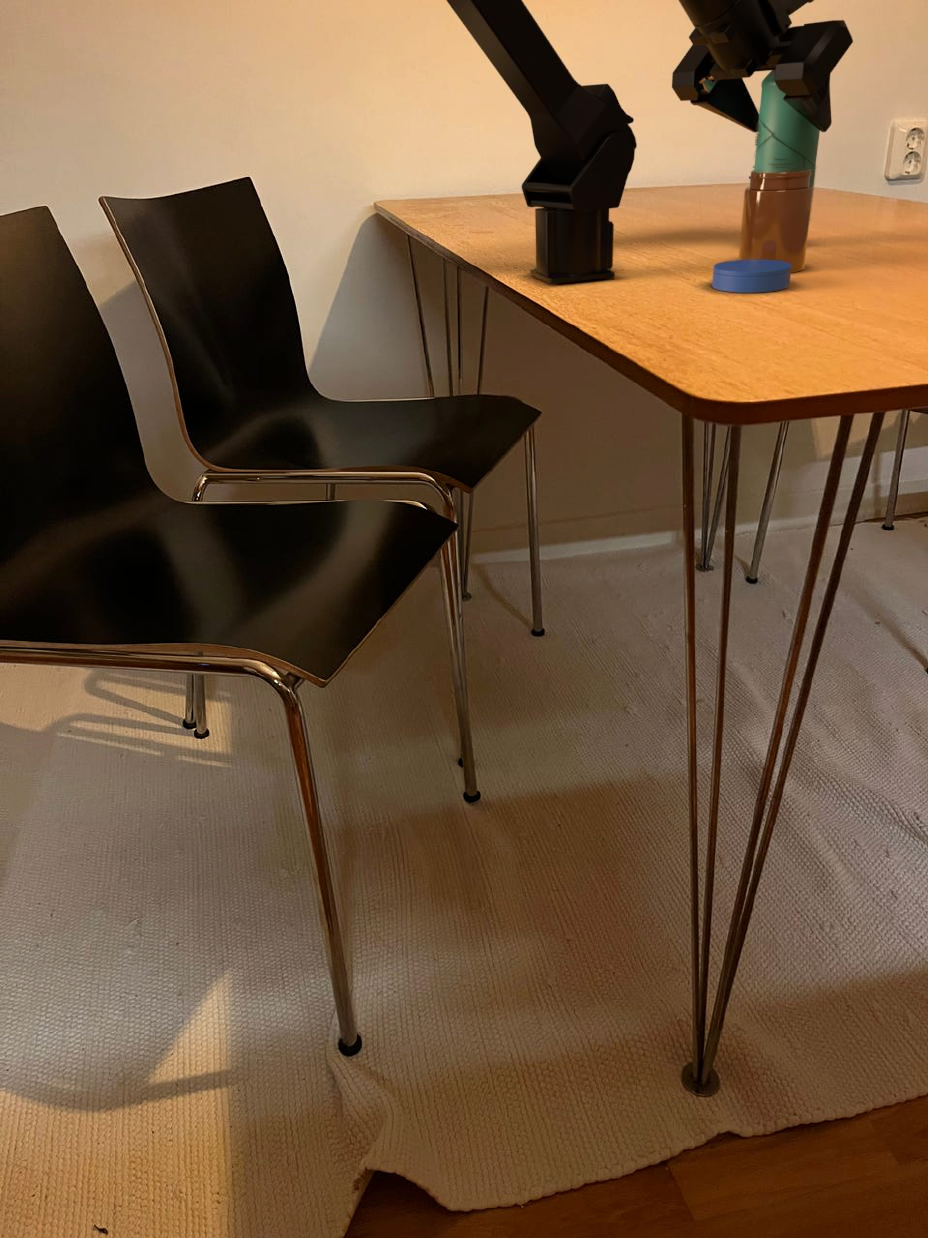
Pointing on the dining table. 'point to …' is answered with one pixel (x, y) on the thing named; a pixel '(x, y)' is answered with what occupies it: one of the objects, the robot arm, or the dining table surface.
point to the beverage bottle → (783, 128)
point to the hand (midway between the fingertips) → (791, 128)
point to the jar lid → (751, 276)
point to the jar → (777, 216)
